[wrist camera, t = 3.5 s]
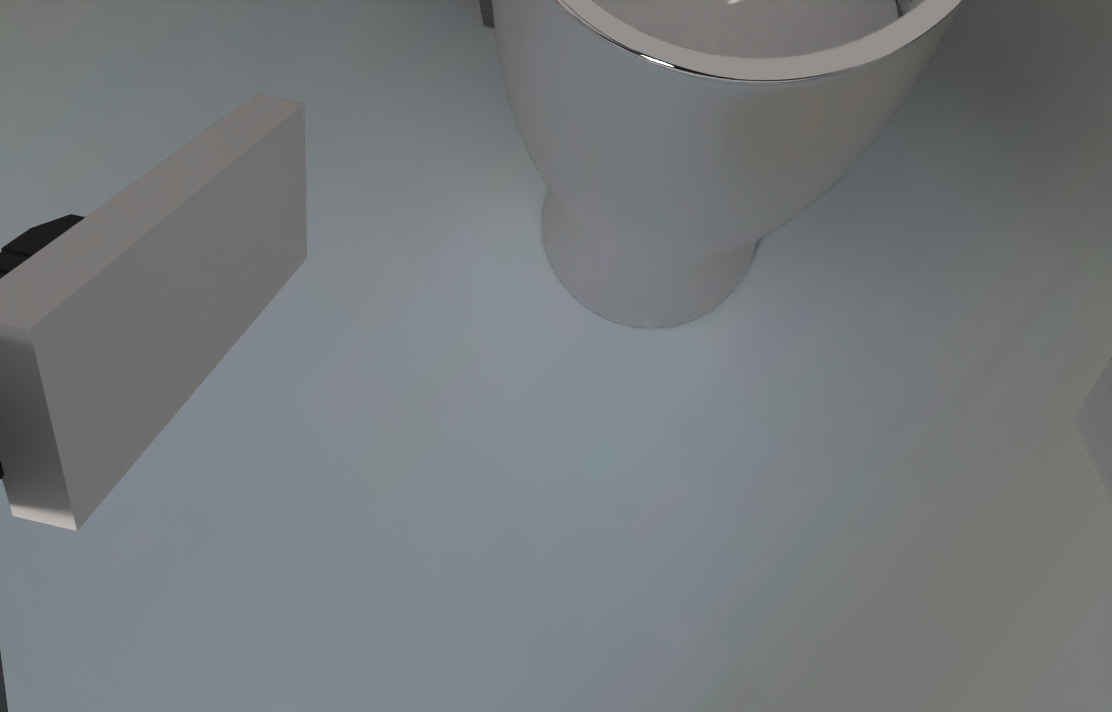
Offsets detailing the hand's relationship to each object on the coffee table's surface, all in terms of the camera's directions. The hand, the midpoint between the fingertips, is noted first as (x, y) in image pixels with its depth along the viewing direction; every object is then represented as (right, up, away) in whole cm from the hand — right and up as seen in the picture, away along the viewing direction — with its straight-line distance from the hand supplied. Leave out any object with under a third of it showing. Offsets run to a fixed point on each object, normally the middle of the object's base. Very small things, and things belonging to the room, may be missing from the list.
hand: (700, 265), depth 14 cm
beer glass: (0, +2, +12) cm, 12 cm away
